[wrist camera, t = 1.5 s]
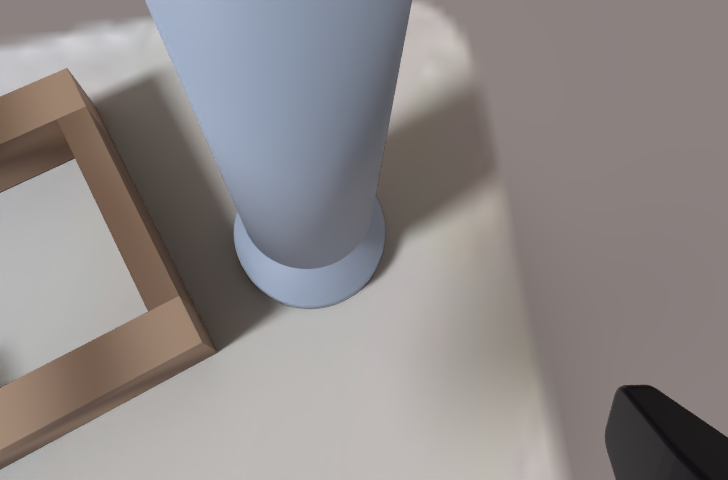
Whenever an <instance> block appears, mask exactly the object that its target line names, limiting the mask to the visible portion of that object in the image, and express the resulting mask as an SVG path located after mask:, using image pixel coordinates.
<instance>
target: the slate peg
mask: <svg viewBox="0 0 728 480" xmlns="http://www.w3.org/2000/svg"><path fill="white" fill-rule="evenodd" d="M145 1H146V4H147V6H148V8H149V10H150V13H151V15H152V17H153V20H154V22H155V24H156V26H157V29H158V31H159V33H160V36H161V38H162V40H163V42H164V45H165V47H166V49H167V52H168V54H169V56H170V58H171V61H172V63H173V65H174V67H175V70H176V72H177V74H178V77H179V79H180V81H181V83H182V86H183V88H184V90H185V93H186V95H187V97H188V99H189V102H190V104H191V106H192V109H193V111H194V113H195V115H196V118H197V120H198V122H199V124H200V127H201V129H202V131H203V134H204V136H205V138H206V140H207V143H208V145H209V147H210V150H211V152H212V154H213V156H214V159H215V161H216V163H217V165H218V168H219V170H220V172H221V175H222V177H223V179H224V181H225V184H226V186H227V188H228V191H229V193H230V195H231V197H232V200H233V202H234V204H235V207H236V209H237V214H236V218H235V224H234V243H235V248H236V252H237V256H238V258H239V260H240V263H241V265H242V267H243V269H244V270H245V272H246V274H247V275H248V277H249V279H250V280H251V281H252V282H253V283H254V285H255V286H256V287H257V288H258V289H259V290H260V291H262V292H263V293H264V294H265V295H267V296H268V297H270V298H271V299H273V300H275V301H277V302H279V303H282V304H284V305H287V306H291V307H295V308H302V309H318V308H324V307H329V306H332V305H335V304H338V303H340V302H342V301H345V300H347V299H348V298H350V297H351V296H353V295H355V294H356V293H357V292H358V291H359V290H361V289H362V288H363V287H364V286H365V284H366V283H367V282H368V281H369V280H370V278H371V277H372V275H373V274H374V272H375V270H376V268H377V266H378V264H379V261H380V258H381V255H382V252H383V248H384V243H385V221H384V216H383V212H382V209H381V206H380V204H379V202H378V200H377V198H376V191H377V186H378V180H379V175H380V169H381V164H382V159H383V153H384V148H385V143H386V137H387V132H388V126H389V121H390V116H391V110H392V105H393V100H394V94H395V89H396V83H397V78H398V73H399V67H400V62H401V57H402V51H403V46H404V41H405V35H406V30H407V24H408V19H409V14H410V8H411V3H412V0H145Z"/></svg>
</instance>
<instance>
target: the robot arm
mask: <svg viewBox="0 0 728 480" xmlns="http://www.w3.org/2000/svg"><path fill="white" fill-rule="evenodd" d="M605 444H606V449H607V452H608V455H609V458H610V462H611V465H612V469H613V472H614V475H615V478H616V480H728V437H726V436H725V435H723V434H722V433H720V432H719V431H718V430H716V429H715V428H713V427H712V426H710V425H709V424H707V423H706V422H704V421H703V420H701V419H700V418H698V417H697V416H696V415H694V414H693V413H691V412H690V411H688V410H687V409H685V408H684V407H682V406H681V405H679V404H678V403H677V402H675V401H674V400H672V399H671V398H669V397H668V396H666V395H665V394H663V393H662V392H660V391H659V390H658V389H656V388H654V387H652V386H649V385H624V386H621V387H619V388H618V389H617V391H616V393H615V395H614V399H613V403H612V407H611V410H610V414H609V418H608V421H607V425H606V429H605Z"/></svg>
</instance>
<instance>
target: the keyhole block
mask: <svg viewBox="0 0 728 480" xmlns="http://www.w3.org/2000/svg"><path fill="white" fill-rule="evenodd" d="M73 158H75V159H76V161H77V163H78V165H79V167H80V169H81V171H82V173H83V176H84V178H85V180H86V182H87V184H88V186H89V188H90V190H91V192H92V194H93V197H94V199H95V201H96V203H97V205H98V207H99V209H100V211H101V213H102V215H103V218H104V220H105V222H106V224H107V226H108V228H109V230H110V232H111V234H112V236H113V239H114V241H115V243H116V245H117V247H118V249H119V251H120V253H121V255H122V257H123V260H124V262H125V264H126V266H127V268H128V270H129V272H130V274H131V276H132V278H133V281H134V283H135V285H136V287H137V289H138V291H139V293H140V295H141V297H142V299H143V302H144V304H145V306H146V308H147V310H148V312H147V313H145V314H143V315H141V316H139V317H137V318H135V319H133V320H131V321H129V322H127V323H125V324H123V325H121V326H120V327H118V328H116V329H114V330H112V331H110V332H108V333H106V334H104V335H102V336H100V337H98V338H96V339H94V340H92V341H90V342H88V343H87V344H85V345H83V346H81V347H79V348H77V349H75V350H73V351H71V352H69V353H67V354H65V355H63V356H61V357H59V358H57V359H55V360H53V361H52V362H50V363H48V364H46V365H44V366H42V367H40V368H38V369H36V370H34V371H32V372H30V373H28V374H26V375H24V376H22V377H20V378H19V379H17V380H15V381H13V382H11V383H9V384H7V385H5V386H3V387H1V388H0V469H2V468H4V467H6V466H7V465H9V464H11V463H13V462H15V461H17V460H19V459H20V458H22V457H24V456H26V455H28V454H30V453H32V452H33V451H35V450H37V449H39V448H41V447H43V446H45V445H46V444H48V443H50V442H52V441H54V440H56V439H58V438H59V437H61V436H63V435H65V434H67V433H69V432H71V431H72V430H74V429H76V428H78V427H80V426H82V425H84V424H85V423H87V422H89V421H91V420H93V419H95V418H97V417H98V416H100V415H102V414H104V413H106V412H108V411H110V410H111V409H113V408H115V407H117V406H119V405H121V404H123V403H124V402H126V401H128V400H130V399H132V398H134V397H136V396H137V395H139V394H141V393H143V392H145V391H147V390H149V389H150V388H152V387H154V386H156V385H158V384H160V383H162V382H163V381H165V380H167V379H169V378H171V377H173V376H175V375H176V374H178V373H180V372H182V371H184V370H186V369H188V368H190V367H191V366H193V365H195V364H197V363H199V362H201V361H203V360H204V359H206V358H208V357H210V356H212V355H214V354H216V353H217V350H216V348H215V346H214V344H213V342H212V340H211V338H210V336H209V334H208V332H207V330H206V328H205V326H204V324H203V322H202V320H201V318H200V316H199V314H198V312H197V310H196V308H195V306H194V304H193V302H192V300H191V298H190V296H189V294H188V292H187V290H186V288H185V286H184V284H183V282H182V280H181V278H180V276H179V274H178V272H177V270H176V268H175V266H174V264H173V262H172V260H171V258H170V256H169V254H168V252H167V250H166V248H165V246H164V244H163V242H162V240H161V238H160V236H159V233H158V231H157V229H156V227H155V225H154V223H153V221H152V219H151V217H150V215H149V213H148V211H147V209H146V207H145V205H144V203H143V201H142V199H141V197H140V195H139V193H138V191H137V189H136V187H135V185H134V183H133V181H132V179H131V177H130V175H129V173H128V171H127V169H126V167H125V165H124V163H123V161H122V159H121V157H120V155H119V153H118V151H117V149H116V147H115V145H114V143H113V141H112V139H111V137H110V135H109V133H108V131H107V129H106V127H105V125H104V123H103V121H102V119H101V117H100V115H99V113H98V111H97V109H96V107H95V105H94V104H93V102H92V101H91V100H90V98H89V97H88V96H87V94H86V93H85V92H84V90H83V89H82V88H81V86H80V85H79V83H78V82H77V81H76V79H75V78H74V77H73V75H72V74H71V73H70V71H69V70H68V69H67V68H66V69H64V70H61V71H59V72H57V73H54V74H52V75H50V76H47V77H45V78H43V79H40V80H38V81H36V82H33V83H31V84H29V85H27V86H24V87H22V88H20V89H17V90H15V91H13V92H10V93H8V94H6V95H3V96H1V97H0V192H1V191H4V190H6V189H8V188H10V187H12V186H15V185H17V184H19V183H21V182H23V181H25V180H28V179H30V178H32V177H34V176H36V175H39V174H41V173H43V172H45V171H47V170H49V169H52V168H54V167H56V166H58V165H60V164H63V163H65V162H67V161H69V160H71V159H73Z"/></svg>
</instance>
